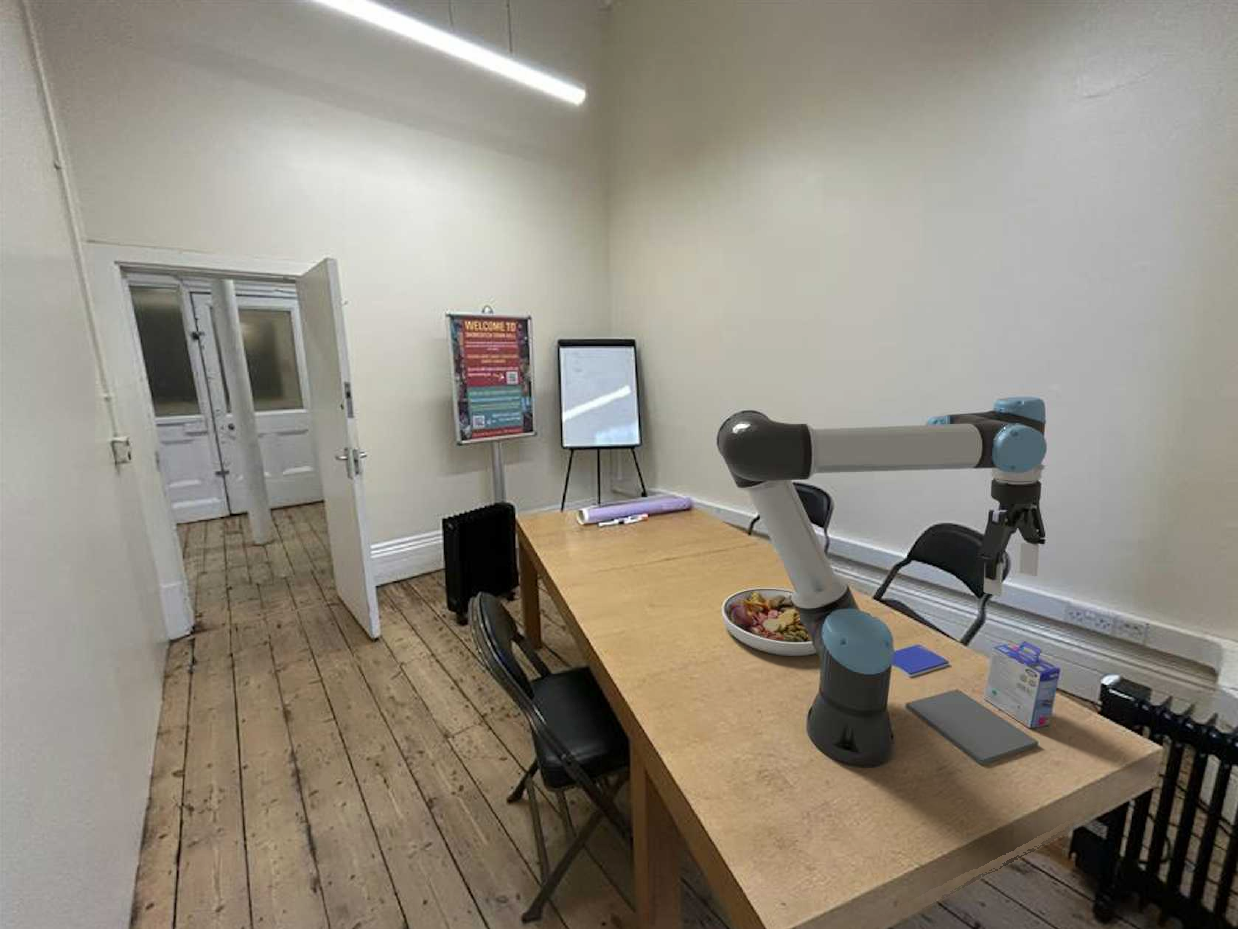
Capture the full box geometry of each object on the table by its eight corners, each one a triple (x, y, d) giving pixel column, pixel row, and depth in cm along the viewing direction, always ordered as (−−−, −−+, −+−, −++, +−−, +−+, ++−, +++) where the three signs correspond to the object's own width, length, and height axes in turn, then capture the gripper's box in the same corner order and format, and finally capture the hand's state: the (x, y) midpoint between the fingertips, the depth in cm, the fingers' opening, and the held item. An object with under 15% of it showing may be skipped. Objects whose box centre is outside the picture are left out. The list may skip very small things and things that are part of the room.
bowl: (791, 596, 154) (793, 572, 153) (867, 649, 126) (869, 620, 125) (701, 613, 145) (702, 587, 144) (761, 673, 117) (763, 642, 116)
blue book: (917, 643, 126) (879, 654, 122) (949, 661, 119) (909, 673, 114) (917, 649, 127) (879, 660, 122) (948, 667, 119) (909, 679, 115)
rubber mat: (980, 765, 90) (981, 760, 90) (905, 707, 105) (906, 703, 105) (1037, 746, 94) (1038, 741, 94) (957, 693, 109) (957, 689, 109)
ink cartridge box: (1052, 725, 100) (1064, 658, 97) (1031, 731, 98) (1043, 663, 95) (1002, 693, 109) (1012, 631, 106) (982, 698, 107) (991, 636, 104)
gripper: (1003, 496, 88) (998, 610, 92) (1071, 469, 100) (1064, 571, 104) (957, 489, 95) (954, 595, 99) (1026, 464, 106) (1020, 560, 110)
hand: (1010, 583), depth 101 cm, fingers open, 13 cm apart
